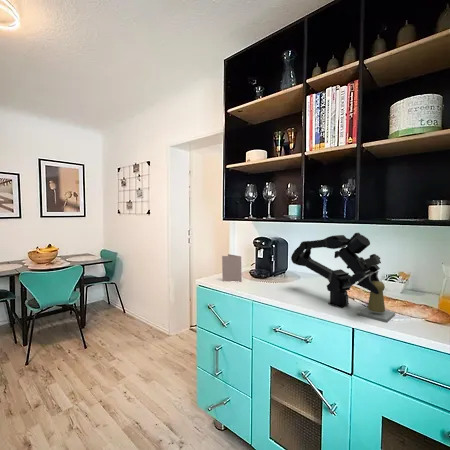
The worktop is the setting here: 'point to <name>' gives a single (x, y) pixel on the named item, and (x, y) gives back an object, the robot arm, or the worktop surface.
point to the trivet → (377, 314)
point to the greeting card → (231, 268)
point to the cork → (377, 298)
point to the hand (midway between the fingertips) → (380, 292)
